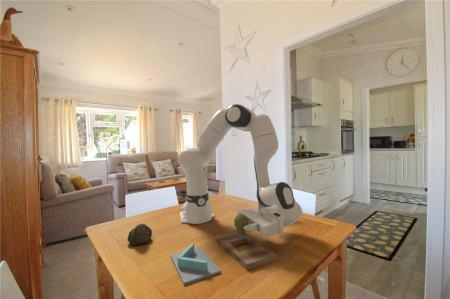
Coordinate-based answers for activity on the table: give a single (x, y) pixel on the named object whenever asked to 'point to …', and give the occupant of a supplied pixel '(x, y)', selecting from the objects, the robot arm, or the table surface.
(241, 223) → the light bulb
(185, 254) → the V-block
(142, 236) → the seashell
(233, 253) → the wooden board with hole
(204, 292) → the table surface
